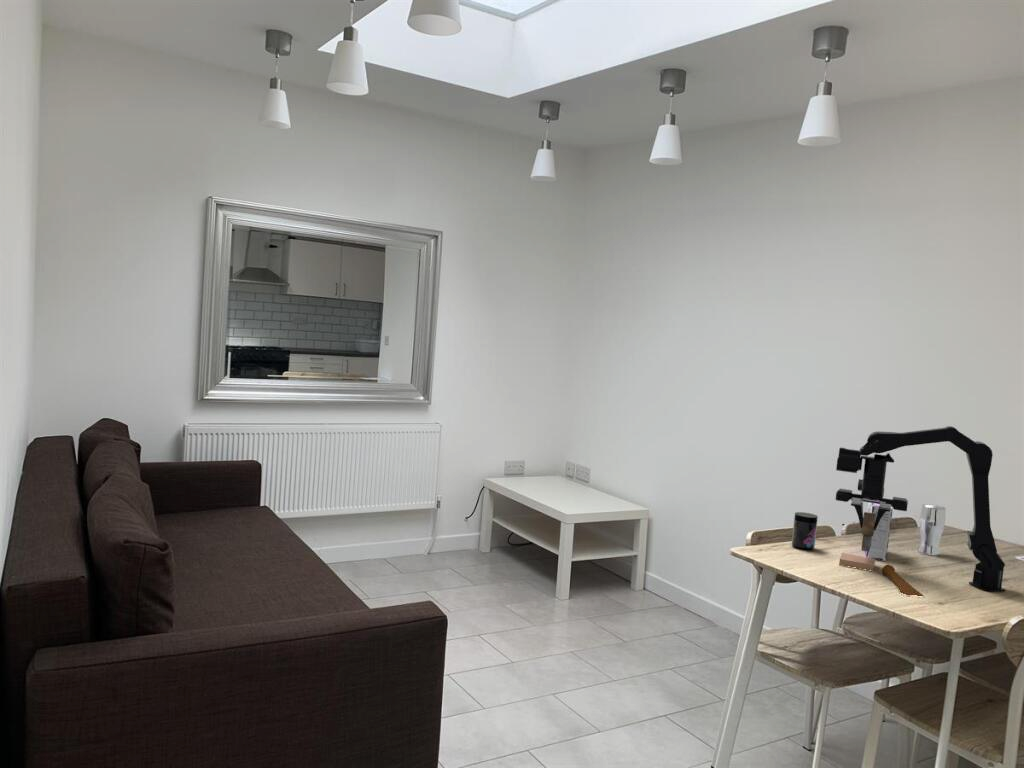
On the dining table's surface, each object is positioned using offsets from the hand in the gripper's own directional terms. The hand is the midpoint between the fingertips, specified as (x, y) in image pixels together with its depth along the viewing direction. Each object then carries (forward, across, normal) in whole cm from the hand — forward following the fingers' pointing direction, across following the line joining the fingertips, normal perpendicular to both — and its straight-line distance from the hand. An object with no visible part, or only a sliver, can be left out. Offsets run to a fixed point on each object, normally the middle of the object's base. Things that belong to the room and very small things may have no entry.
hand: (868, 529), depth 233 cm
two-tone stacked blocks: (+6, 0, 0) cm, 6 cm away
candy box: (+11, -2, -18) cm, 21 cm away
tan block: (+10, -3, 0) cm, 10 cm away
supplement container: (+11, +18, -9) cm, 23 cm away
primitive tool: (+12, -10, +13) cm, 21 cm away
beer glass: (+11, -17, -33) cm, 39 cm away
